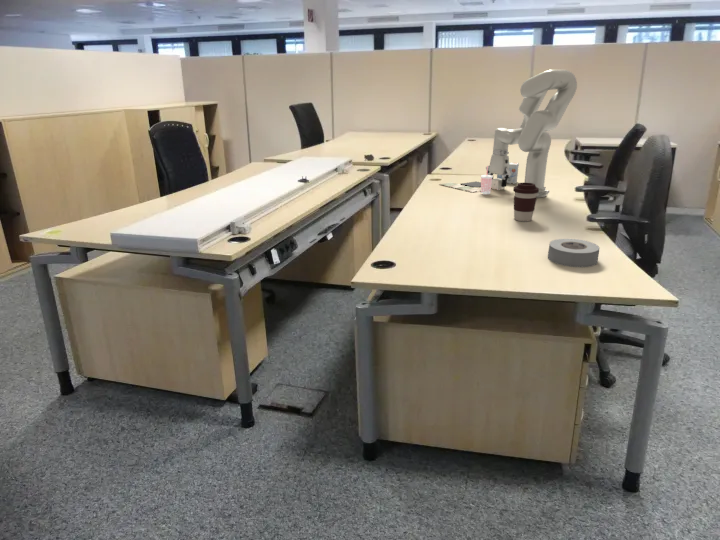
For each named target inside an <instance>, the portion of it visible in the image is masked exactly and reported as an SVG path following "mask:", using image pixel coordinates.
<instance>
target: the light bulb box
mask: <svg viewBox="0 0 720 540" xmlns="http://www.w3.org/2000/svg"><path fill="white" fill-rule="evenodd" d="M519 165H520V164H519V162H509V170H510V171H511V172H512V173H511V175H510V177H509V178H508V179H507V184H511V183H513V184H514V185H515V184H517V183H518V176H519V175H518V174H519V173H518V172H519ZM504 176H505V175H504ZM497 178H499V179H503V178H502V175H497V174H496V179H497ZM513 184H512V185H513Z"/></svg>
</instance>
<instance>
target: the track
mask: <svg viewBox="0 0 720 540" xmlns="http://www.w3.org/2000/svg"><path fill="white" fill-rule="evenodd" d="M438 185H439V186H443V187H445V188H446V187H447V188H450V187H451V189H454V188H455V190H459V191H463V190H465V191H464V192H467V191H469V192H468V193H471V192H473V193H478V192H477V191H480V192H481V188H474V187H470V186H465V185H461V183H456V182H455V183H454V182H446V183H439V184H438Z"/></svg>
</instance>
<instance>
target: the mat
mask: <svg viewBox="0 0 720 540" xmlns="http://www.w3.org/2000/svg"><path fill="white" fill-rule="evenodd" d="M461 184H462V185H464V186H465V185H467V186H469V187H470V186H471V187H473V188H474V187H479V188H481V181H471V182H464V183H461Z"/></svg>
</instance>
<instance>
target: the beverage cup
mask: <svg viewBox="0 0 720 540" xmlns="http://www.w3.org/2000/svg"><path fill="white" fill-rule="evenodd" d="M488 166H489V165H487V166H486V167H487V171H486V174H482V175H480V182H481V187H480V189H481V191H480V194H481V193H483V194H482V195H490V194H491V191H492V189H491V184H492V178H493V179H494V175H488V174H487V173H488Z"/></svg>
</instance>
